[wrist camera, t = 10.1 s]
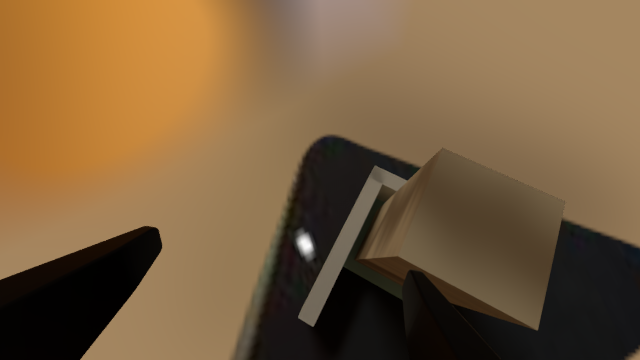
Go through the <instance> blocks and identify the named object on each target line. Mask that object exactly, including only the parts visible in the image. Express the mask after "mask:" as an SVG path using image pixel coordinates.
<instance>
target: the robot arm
mask: <svg viewBox="0 0 640 360" xmlns="http://www.w3.org/2000/svg"><path fill="white" fill-rule="evenodd" d="M161 249H162V242H161V238H160V234H159V230H158V229H157V228H155V227H149V226H144V227H141V228H138V229H135V230H133V231H130V232H127V233H125V234H122V235H119V236H116V237H114V238H111V239H108V240H106V241H103V242H100V243H98V244H95V245H92V246H90V247H87V248H84V249H82V250H79V251H76V252H74V253H71V254H68V255H66V256H63V257H60V258H58V259H55V260H52V261H50V262H47V263H44V264H42V265H39V266H36V267H33V268H31V269H28V270H25V271H23V272H20V273H17V274H15V275H12V276H9V277H7V278H4V279H1V280H0V360H80V359H81V358H82V356H83V355H84V354H85V353H86V351H87V350H88V349H89V348H90V346H91V345H92V344H93V343H94V341H95V340H96V339H97V338H98V336H99V335H100V334H101V333H102V331H103V330H104V329H105V328H106V326H107V325H108V324H109V322H110V321H111V320H112V319H113V318H114V316H115V315H116V314H117V312H118V311H119V310H120V309H121V307H122V306H123V305H124V304H125V302H126V301H127V300H128V299H129V297H130V296H131V295H132V293H133V292H134V291H135V289H136V288H137V286H138V285H139V284H140V282H141V281H142V279H143V277H144V276H145V275H146V273H147V271H148V270H149V268H150V267H151V265H152V264H153V262H154V261H155V259H156V258H157V256H158V255H159V253H160V252H161ZM402 299H403V310H404V322H405V332H406V341H407V347H408V352H409V357H410V360H501V359H500V357H499V356H498V355H497V354H496V353H495V352H494V351H493V350H492V349H491V347H490V346H489V345H488V344H487V343H486V342H485V341H484V340H483V339H482V337H481V336H480V335H479V334H478V333H477V332H476V331H475V330H474V329H473V327H472V326H471V325H470V324H469V323H468V322H467V321H466V320H465V319H464V317H463V316H462V315H461V314H460V313H459V312H458V311H457V310H456V309H455V307H454V306H453V305H452V304H451V303H450V302H449V301H448V300H447V299H446V297H445V296H444V295H443V294H442V293H441V292H440V291H439V290H438V289H437V287H436V286H435V285H434V284H433V283H432V282H431V281H430V280H429V279H428V277H427V276H426V275H425V274H424V273H423V272H422V271H418V270H412V269H410V270H409V271H408V272H407V275H406V278H405V280H404V283H403V286H402Z"/></svg>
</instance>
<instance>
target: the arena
mask: <svg viewBox="0 0 640 360" xmlns="http://www.w3.org/2000/svg"><path fill="white" fill-rule="evenodd" d="M406 182H407V181H406V180H404V179H402V178H400V177H398V176H396V175H394V174H392V173H390V172H387V171H385V170H383V169H381V168H379V167H377V166H374V168H373V170H372V172H371V174H370V176H369V177H368V179H367V181H366V183H365V185H364V187H363V189H362V191H361V193H360V195H359V197H358V199H357V201H356V203H355V205H354V207H353V209H352V211H351V213H350V215H349V217H348V219H347V221H346V223H345V224H344V226H343V228H342V230H341V232H340V234H339V236H338V238H337V240H336V242H335V244H334V246H333V248H332V250H331V252H330V254H329V256H328V258H327V260H326V262H325V264H324V266H323V268H322V270H321V272H320V274H319V276H318V278H317V280H316V282H315V284H314V285H313V287H312V289H311V291H310V293H309V295H308V297H307V299H306V301H305V303H304V305H303V307H302V309H301V312H300V314H299V316H298V318H299V319H301V320H303V321H304V322H306V323H307V324H309V325H311V326H312V327H314V325H315V323H316V321H317V318H318V316H319V314H320V312H321V310H322V308H323V306H324V304H325V302H326V300H327V298H328V296H329V294H330V292H331V290H332V287H333V285H334V283H335V281H336V279H337V277H338V275H339V273H340V271H341V269H342V267H345V268H347V269H349V270H350V271H352V272H354V273H356V274H357V275H359V276H361V277H363V278H364V279H366V280H368V281H370V282H371V283H373V284H375V285H377V286H379V287H380V288H382V289H384V290H386V291H387V292H389V293H391V294H393V295H394V296H396V297H398V298H400V299H401V300H403V299H402V286H401V285H399V284H397V283H395V282H393V281H392V280H390V279H388V278H386V277H384V276H382V275H381V274H379V273H377V272H375V271H373V270H372V269H370V268H368V267H366V266H364V265H363V264H361V263H359V262H357V261H355V260H354V258H355V256H356V254H357V252H358V250H359V248H360V246H361V243H362V241H363V239H364V237H365V235H366V233H367V231H368V228H369V226H370V224H371V222H372V220H373V218H374V216H375V213H376V211H377V210H378V209H379V208H380V207H381V206H382V205H383V204H384V203H385V202H386V201H387V200H388V199H389V198H390V197H391V196H392V195H394V194H395V193H396V192H397V191H398V190H399V189H400V188H401V187H402V186H403V185H404V184H405V183H406Z"/></svg>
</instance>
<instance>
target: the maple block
mask: <svg viewBox="0 0 640 360" xmlns="http://www.w3.org/2000/svg"><path fill="white" fill-rule="evenodd" d="M564 205H565V201H563V200H561V199H558V198H556V197H554V196H551V195H549V194H547V193H545V192H542V191H540V190H538V189H535V188H533V187H531V186H529V185H526V184H524V183H522V182H519V181H517V180H515V179H513V178H510V177H508V176H506V175H504V174H501V173H499V172H497V171H494V170H492V169H490V168H488V167H485V166H483V165H481V164H478V163H476V162H474V161H472V160H469V159H467V158H465V157H463V156H460V155H458V154H456V153H453V152H451V151H449V150H446V149H444V148H442V149H441V150H440V151H439V152H438V153H436V155H434V156H433V158H431V159H430V160H429V161H428V162H427V163H426V164H425V165H424V166H423V167H422V168H421V169H420V170H419V171H418V172H417V173H416V174H414V175H413V176H412V177H411V178H410V179H409V180H408V181H407V182H406V183H405V184H404V185H403V186H402V187H401V188H400V189H399V190H398V191H397V192H396V193H395V194H394V195H392V196H391V197H390V198H389V199H388V200H387V201H386V202H385V203H384V204H383V205H382V206H381V207H380V208H379V209H378V210H377V211H376V213H375V216H374V218H373V220H372V222H371V224H370V226H369V228H368V231H367V233H366V235H365V237H364V239H363V241H362V243H361V246H360V248H359V250H358V252H357V254H356V256H355V258H354V260H355V261H357V262H359V263H361V264H363V265H364V266H366V267H368V268H370V269H372V270H373V271H375V272H377V273H379V274H381V275H382V276H384V277H386V278H388V279H390V280H392V281H393V282H395V283H397V284H399V285H401V286H403V283H404V280H405V278H406V275H407V272H408V271H409V270H410V269H412V270H418V271H422V272H423V273H424V274H425V275H426V276H427V277H428V279H429V280H430V281H431V282H432V283H433V284H434V285H435V286H436V287H437V289H438V290H439V291H440V292H441V293H442V294H443V295H444V296H445V297H446V299H447V300H448V301H449V302H450V303H453V304H456V305H459V306H462V307H465V308H468V309H471V310H475V311H478V312H481V313H484V314H487V315H490V316H494V317H497V318H500V319H503V320H506V321H509V322H512V323H516V324H519V325H522V326H525V327H528V328H531V329H535V330H538V327H539V322H540V317H541V313H542V308H543V303H544V299H545V294H546V289H547V285H548V280H549V275H550V271H551V266H552V261H553V257H554V252H555V247H556V243H557V238H558V233H559V229H560V224H561V219H562V215H563V210H564Z"/></svg>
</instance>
